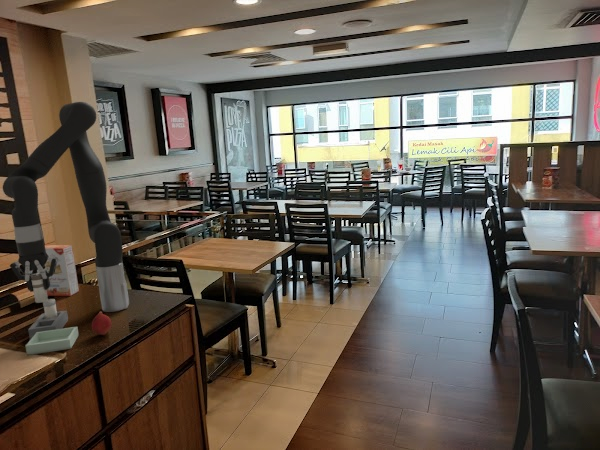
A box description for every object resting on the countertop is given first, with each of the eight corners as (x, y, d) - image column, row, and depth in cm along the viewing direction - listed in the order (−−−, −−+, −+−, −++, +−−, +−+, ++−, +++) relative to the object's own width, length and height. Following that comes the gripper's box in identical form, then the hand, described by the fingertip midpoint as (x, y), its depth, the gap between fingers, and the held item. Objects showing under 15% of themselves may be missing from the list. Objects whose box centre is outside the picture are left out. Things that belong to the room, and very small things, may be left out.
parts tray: (78, 335, 143) (77, 326, 143) (70, 348, 134) (69, 339, 133) (38, 340, 140) (36, 332, 140) (27, 355, 131) (25, 345, 130)
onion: (93, 340, 138) (90, 316, 137) (93, 334, 143) (89, 311, 142) (113, 336, 141) (110, 312, 139) (112, 329, 146) (108, 307, 144)
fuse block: (68, 319, 157) (66, 310, 156) (57, 335, 143) (55, 325, 143) (43, 323, 155) (41, 313, 154) (29, 339, 142) (28, 329, 141)
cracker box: (40, 296, 184) (32, 248, 180) (50, 291, 190) (42, 244, 186) (70, 296, 182) (62, 247, 178) (79, 291, 188) (72, 244, 184)
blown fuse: (49, 297, 146) (44, 272, 144) (46, 301, 142) (41, 275, 141) (37, 299, 145) (32, 273, 143) (33, 303, 142) (28, 276, 140)
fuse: (60, 322, 155) (56, 298, 153) (57, 326, 151) (53, 301, 150) (48, 323, 154) (44, 299, 152) (45, 328, 150) (41, 303, 149)
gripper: (57, 234, 145) (66, 283, 148) (9, 239, 142) (19, 289, 145) (50, 238, 138) (60, 290, 141) (0, 244, 134) (11, 297, 138)
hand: (39, 289), depth 143 cm, fingers closed on blown fuse, 3 cm apart
